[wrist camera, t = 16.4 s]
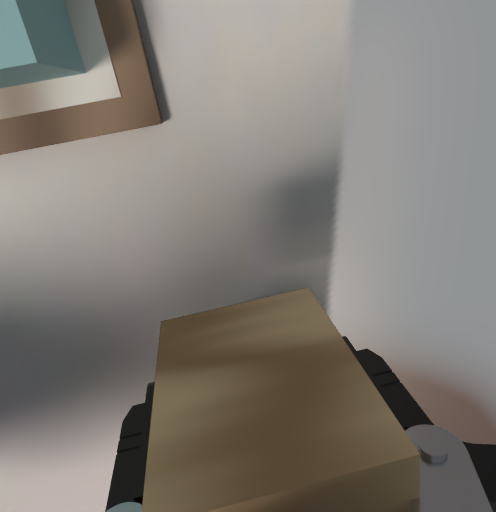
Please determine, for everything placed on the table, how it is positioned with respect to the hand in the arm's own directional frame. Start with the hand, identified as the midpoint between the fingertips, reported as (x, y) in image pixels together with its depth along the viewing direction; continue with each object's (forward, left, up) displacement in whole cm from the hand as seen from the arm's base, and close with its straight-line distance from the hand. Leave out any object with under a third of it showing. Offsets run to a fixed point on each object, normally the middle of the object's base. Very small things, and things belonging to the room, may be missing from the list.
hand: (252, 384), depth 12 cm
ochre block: (0, 0, -1) cm, 1 cm away
